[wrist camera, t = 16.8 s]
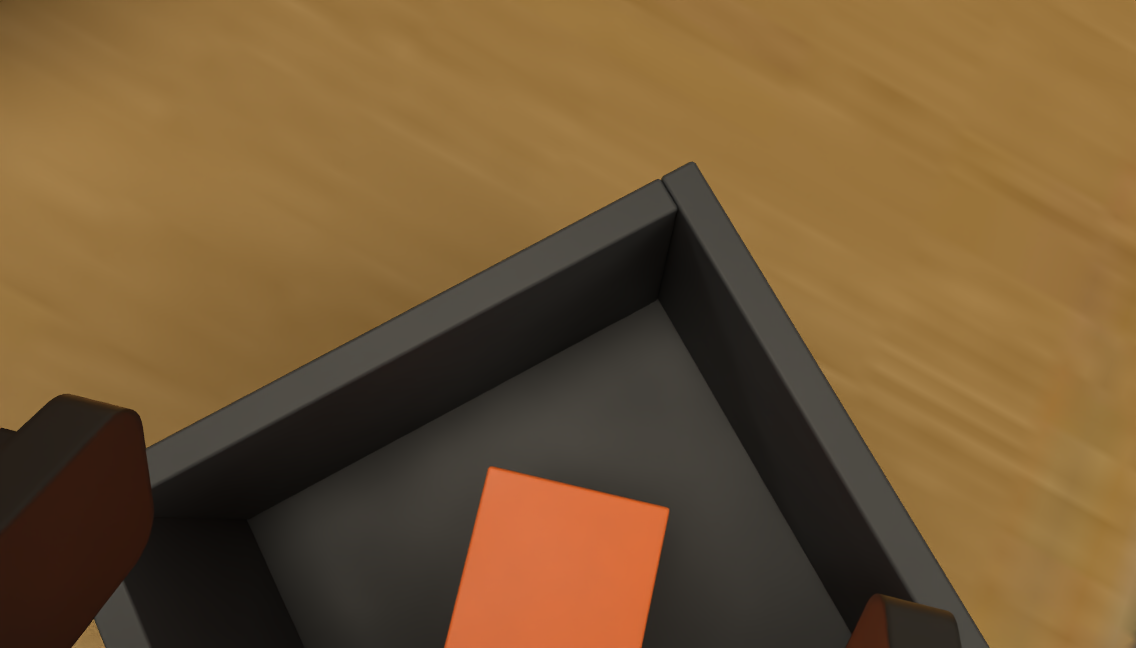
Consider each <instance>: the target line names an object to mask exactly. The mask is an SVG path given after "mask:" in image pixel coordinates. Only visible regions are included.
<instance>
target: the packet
mask: <svg viewBox="0 0 1136 648" xmlns="http://www.w3.org/2000/svg"><path fill="white" fill-rule="evenodd" d="M669 512H670V511H669V508H667V507H664V506H660V505H655V504H651V503H647V502H643V501H638V500H634V499H630V498H626V497H621V496H617V495H613V494H608V493H604V492H600V491H596V490H591V489H587V488H583V487H579V486H574V485H570V484H566V483H562V482H557V481H553V480H549V479H545V478H540V477H536V476H532V475H528V474H523V473H519V472H515V471H511V470H506V469H502V468H498V467H493V466H490V467H489V468H488V471H487V475H486V479H485V483H484V487H483V491H482V495H481V499H480V503H479V507H478V511H477V515H476V519H475V524H474V528H473V532H472V536H471V540H470V544H469V548H468V552H467V556H466V560H465V564H464V568H463V572H462V577H461V581H460V585H459V589H458V593H457V597H456V601H455V605H454V609H453V613H452V617H451V621H450V626H449V630H448V634H447V638H446V642H445V646H444V648H642V643H643V638H644V633H645V628H646V623H647V618H648V614H649V609H650V604H651V599H652V594H653V589H654V584H655V580H656V575H657V570H658V565H659V560H660V555H661V550H662V546H663V541H664V536H665V531H666V526H667V521H668V516H669Z"/></svg>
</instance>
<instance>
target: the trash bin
mask: <svg viewBox="0 0 1136 648" xmlns="http://www.w3.org/2000/svg"><path fill="white" fill-rule="evenodd" d="M146 454H147V461H148V468H149V475H150V483H151V490H152V497H153V504H154V519H153V526H152V530H151V533H150V536H149V540H148V542H147V545H146V547H145V549H144V551H143V553H142V555H141V557H140V558H139V560H138V562H137V563H136V565H135V566H134V567H133V569H132V570H131V571H130V572H129V574H128V575H127V576H126V578H125V579H124V580H123V582H122V583H121V584H120V585H119V587H118V588H117V589H116V591H115V592H114V593H113V594H112V596H111V597H110V598H109V600H108V601H107V602H106V604H105V605H104V606H103V607H102V609H101V610H100V611H99V613H98V614H97V615H96V616H95V618H94V620H95V623H96V625H97V628H98V630H99V633H100V635H101V637H102V640H103V642H104V645H105V647H106V648H444V646H445V642H446V638H447V634H448V630H449V626H450V621H451V617H452V613H453V609H454V605H455V601H456V597H457V593H458V589H459V585H460V581H461V577H462V572H463V568H464V564H465V560H466V556H467V552H468V548H469V544H470V540H471V536H472V532H473V528H474V524H475V519H476V515H477V511H478V507H479V503H480V499H481V495H482V491H483V487H484V483H485V479H486V475H487V471H488V468H489V467H490V466H493V467H498V468H502V469H506V470H511V471H515V472H519V473H523V474H528V475H532V476H536V477H540V478H545V479H549V480H553V481H557V482H562V483H566V484H570V485H574V486H579V487H583V488H587V489H591V490H596V491H600V492H604V493H608V494H613V495H617V496H621V497H626V498H630V499H634V500H638V501H643V502H647V503H651V504H655V505H660V506H664V507H667V508H669V511H670V512H669V516H668V521H667V526H666V531H665V536H664V541H663V546H662V550H661V555H660V560H659V565H658V570H657V575H656V580H655V584H654V589H653V594H652V599H651V604H650V609H649V614H648V618H647V623H646V628H645V633H644V638H643V643H642V648H846V646H847V644H848V642H849V639H850V637H851V635H852V633H853V631H854V629H855V627H856V625H857V623H858V621H859V619H860V617H861V615H862V612H863V610H864V608H865V606H866V604H867V602H868V601H869V599H870V598H871V597H872V596H873V595H874V594H876V593H878V594H882V595H886V596H890V597H894V598H898V599H902V600H906V601H910V602H914V603H918V604H922V605H926V606H930V607H934V608H938V609H942V610H946V611H950V612H951V613H952V614H953V615H954V617H955V619H956V622H957V625H958V629H959V634H960V640H961V645H962V648H990V647H989V646H988V644H987V642H986V641H985V639H984V638H983V636H982V634H981V633H980V631H979V629H978V628H977V626H976V624H975V623H974V621H973V619H972V618H971V616H970V614H969V613H968V611H967V610H966V608H965V606H964V605H963V603H962V601H961V600H960V598H959V596H958V595H957V593H956V591H955V590H954V588H953V586H952V585H951V583H950V582H949V580H948V578H947V577H946V575H945V573H944V572H943V570H942V568H941V567H940V565H939V563H938V562H937V560H936V559H935V557H934V555H933V554H932V552H931V550H930V549H929V547H928V545H927V544H926V542H925V540H924V539H923V537H922V535H921V534H920V532H919V531H918V529H917V527H916V526H915V524H914V522H913V521H912V519H911V517H910V516H909V514H908V512H907V511H906V509H905V507H904V506H903V504H902V503H901V501H900V499H899V498H898V496H897V494H896V493H895V491H894V489H893V488H892V486H891V484H890V483H889V481H888V479H887V478H886V476H885V475H884V473H883V471H882V470H881V468H880V466H879V465H878V463H877V461H876V460H875V458H874V456H873V455H872V453H871V451H870V450H869V448H868V447H867V445H866V443H865V442H864V440H863V438H862V437H861V435H860V433H859V432H858V430H857V428H856V427H855V425H854V424H853V422H852V420H851V419H850V417H849V415H848V414H847V412H846V410H845V409H844V407H843V405H842V404H841V402H840V400H839V399H838V397H837V396H836V394H835V392H834V391H833V389H832V387H831V386H830V384H829V382H828V381H827V379H826V377H825V376H824V374H823V372H822V371H821V369H820V368H819V366H818V364H817V363H816V361H815V359H814V358H813V356H812V354H811V353H810V351H809V349H808V348H807V346H806V344H805V343H804V341H803V340H802V338H801V336H800V335H799V333H798V331H797V330H796V328H795V326H794V325H793V323H792V321H791V320H790V318H789V316H788V315H787V313H786V312H785V310H784V308H783V307H782V305H781V303H780V302H779V300H778V298H777V297H776V295H775V293H774V292H773V290H772V289H771V287H770V285H769V284H768V282H767V280H766V279H765V277H764V275H763V274H762V272H761V270H760V269H759V267H758V265H757V264H756V262H755V261H754V259H753V257H752V256H751V254H750V252H749V251H748V249H747V247H746V246H745V244H744V242H743V241H742V239H741V237H740V236H739V234H738V233H737V231H736V229H735V228H734V226H733V224H732V223H731V221H730V219H729V218H728V216H727V214H726V213H725V211H724V209H723V208H722V206H721V205H720V203H719V201H718V200H717V198H716V196H715V195H714V193H713V191H712V190H711V188H710V186H709V185H708V183H707V181H706V180H705V178H704V177H703V175H702V173H701V172H700V170H699V168H698V167H697V165H696V164H695V163H694V162H689V163H687V164H685V165H683V166H681V167H679V168H677V169H676V170H674V171H672V172H670V173H668V174H666V175H664V176H663V177H662V179H661V180H660V179H657V180H654V181H652V182H651V183H649V184H647V185H645V186H643V187H641V188H639V189H637V190H635V191H634V192H632V193H630V194H628V195H626V196H624V197H622V198H620V199H618V200H616V201H615V202H613V203H611V204H609V205H607V206H605V207H603V208H601V209H599V210H597V211H596V212H594V213H592V214H590V215H588V216H586V217H584V218H582V219H580V220H578V221H577V222H575V223H573V224H571V225H569V226H567V227H565V228H563V229H561V230H559V231H558V232H556V233H554V234H552V235H550V236H548V237H546V238H544V239H542V240H541V241H539V242H537V243H535V244H533V245H531V246H529V247H527V248H525V249H523V250H522V251H520V252H518V253H516V254H514V255H512V256H510V257H508V258H506V259H504V260H503V261H501V262H499V263H497V264H495V265H493V266H491V267H489V268H487V269H485V270H484V271H482V272H480V273H478V274H476V275H474V276H472V277H470V278H468V279H466V280H465V281H463V282H461V283H459V284H457V285H455V286H453V287H451V288H449V289H448V290H446V291H444V292H442V293H440V294H438V295H436V296H434V297H432V298H430V299H429V300H427V301H425V302H423V303H421V304H419V305H417V306H415V307H413V308H411V309H410V310H408V311H406V312H404V313H402V314H400V315H398V316H396V317H394V318H392V319H391V320H389V321H387V322H385V323H383V324H381V325H379V326H377V327H375V328H374V329H372V330H370V331H368V332H366V333H364V334H362V335H360V336H358V337H356V338H355V339H353V340H351V341H349V342H347V343H345V344H343V345H341V346H339V347H337V348H336V349H334V350H332V351H330V352H328V353H326V354H324V355H322V356H320V357H318V358H317V359H315V360H313V361H311V362H309V363H307V364H305V365H303V366H301V367H299V368H298V369H296V370H294V371H292V372H290V373H288V374H286V375H284V376H282V377H281V378H279V379H277V380H275V381H273V382H271V383H269V384H267V385H265V386H263V387H262V388H260V389H258V390H256V391H254V392H252V393H250V394H248V395H246V396H244V397H243V398H241V399H239V400H237V401H235V402H233V403H231V404H229V405H227V406H225V407H224V408H222V409H220V410H218V411H216V412H214V413H212V414H210V415H208V416H206V417H205V418H203V419H201V420H199V421H197V422H195V423H193V424H191V425H189V426H188V427H186V428H184V429H182V430H180V431H178V432H176V433H174V434H172V435H170V436H169V437H167V438H165V439H163V440H161V441H159V442H157V443H155V444H153V445H151V446H150V447H148V448H146Z"/></svg>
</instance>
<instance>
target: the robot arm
mask: <svg viewBox="0 0 1136 648" xmlns="http://www.w3.org/2000/svg"><path fill="white" fill-rule="evenodd" d="M153 519H154V504H153V497H152V490H151V483H150V475H149V468H148V461H147V454H146V447H145V440H144V433H143V426H142V421H141V419H140V416H139V415H138V414H137V412H135V411H134V410H131V409H127V408H123V407H119V406H115V405H111V404H107V403H103V402H99V401H95V400H91V399H87V398H83V397H79V396H75V395H71V394H62V395H59V396H57V397H55V398H53V399H52V400H51V401H49V402H48V403H47V404H46V405H45V406H44V407H43V408H42V409H40V410H39V411H38V412H37V413H36V414H35V415H34V416H33V417H32V418H31V419H30V420H29V421H27V422H26V423H25V424H24V425H23V426H22V427H21V428H20V429H19V430H18V431H17V432H16V431H12V430H8V429H4V428H1V429H0V648H72V646H73V645H74V644H75V642H76V641H77V640H78V638H79V637H80V636H81V635H82V633H83V632H84V631H85V629H86V628H87V627H88V626H89V624H90V623H91V622H92V620H93V619H94V618H95V616H96V615H97V614H98V613H99V611H100V610H101V609H102V607H103V606H104V605H105V604H106V602H107V601H108V600H109V598H110V597H111V596H112V594H113V593H114V592H115V591H116V589H117V588H118V587H119V585H120V584H121V583H122V582H123V580H124V579H125V578H126V576H127V575H128V574H129V572H130V571H131V570H132V569H133V567H134V566H135V565H136V563H137V562H138V560H139V558H140V557H141V555H142V553H143V551H144V549H145V547H146V545H147V542H148V540H149V536H150V533H151V530H152V526H153ZM846 648H962V645H961V640H960V634H959V629H958V625H957V622H956V619H955V617H954V615H953V614H952V613H951V612H950V611H946V610H942V609H938V608H934V607H930V606H926V605H922V604H918V603H914V602H910V601H906V600H902V599H898V598H894V597H890V596H886V595H882V594H878V593H876V594H874V595H873V596H872V597H871V598H870V599H869V601H868V602H867V604H866V606H865V608H864V610H863V612H862V615H861V617H860V619H859V621H858V623H857V625H856V627H855V629H854V631H853V633H852V635H851V637H850V639H849V642H848V644H847V646H846Z"/></svg>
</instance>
